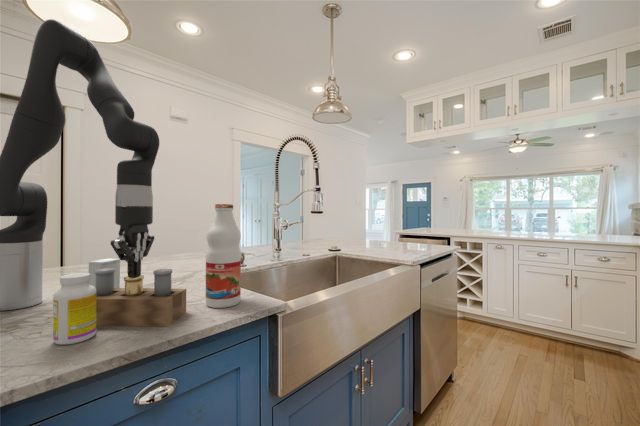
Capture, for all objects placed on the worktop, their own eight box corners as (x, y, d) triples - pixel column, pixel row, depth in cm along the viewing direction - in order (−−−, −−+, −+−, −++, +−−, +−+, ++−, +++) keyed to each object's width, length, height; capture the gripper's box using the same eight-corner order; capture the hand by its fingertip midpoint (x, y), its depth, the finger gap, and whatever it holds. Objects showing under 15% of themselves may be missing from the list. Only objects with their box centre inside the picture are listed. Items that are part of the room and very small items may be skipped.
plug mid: (119, 308, 66) (119, 278, 66) (131, 303, 70) (131, 274, 70) (136, 309, 66) (136, 278, 66) (147, 303, 70) (147, 274, 70)
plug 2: (149, 302, 66) (149, 272, 66) (159, 297, 70) (159, 268, 70) (166, 302, 66) (166, 272, 66) (175, 297, 70) (175, 269, 70)
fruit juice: (244, 298, 85) (245, 204, 85) (235, 309, 76) (235, 204, 75) (212, 297, 85) (213, 204, 85) (199, 308, 76) (200, 203, 75)
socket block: (74, 325, 64) (74, 298, 64) (104, 311, 73) (104, 287, 73) (167, 326, 64) (167, 299, 64) (186, 312, 73) (186, 288, 73)
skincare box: (100, 307, 76) (100, 262, 76) (87, 305, 77) (87, 261, 77) (120, 300, 82) (120, 258, 82) (108, 298, 83) (108, 258, 83)
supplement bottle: (104, 331, 61) (104, 271, 61) (79, 346, 54) (79, 279, 54) (72, 331, 61) (72, 271, 61) (43, 346, 54) (43, 279, 54)
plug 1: (89, 301, 66) (90, 271, 66) (103, 296, 70) (103, 268, 70) (106, 302, 66) (107, 271, 66) (119, 296, 70) (119, 268, 70)
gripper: (136, 205, 75) (136, 270, 75) (97, 204, 62) (97, 283, 62) (165, 205, 75) (164, 271, 75) (131, 204, 62) (131, 284, 62)
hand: (134, 276), depth 68 cm, fingers closed
